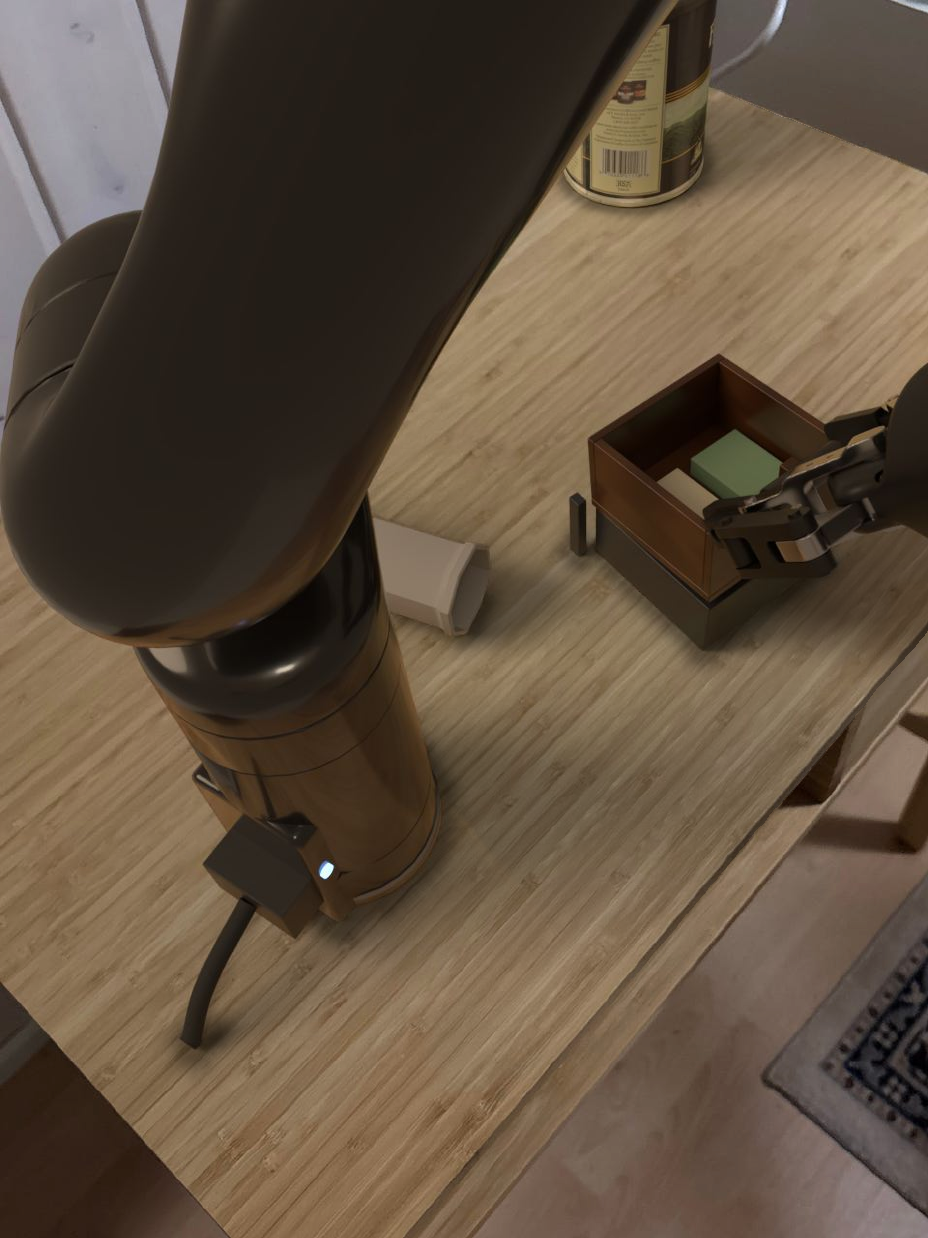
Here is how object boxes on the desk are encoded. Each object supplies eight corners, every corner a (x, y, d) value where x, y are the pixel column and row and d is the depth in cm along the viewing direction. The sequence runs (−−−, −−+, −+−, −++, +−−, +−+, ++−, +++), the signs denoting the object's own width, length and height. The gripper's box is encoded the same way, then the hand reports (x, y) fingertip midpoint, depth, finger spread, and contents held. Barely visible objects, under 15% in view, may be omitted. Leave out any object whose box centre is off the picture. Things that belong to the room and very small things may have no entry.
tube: (48, 494, 66) (440, 623, 58) (87, 412, 67) (478, 528, 59) (97, 526, 71) (464, 649, 63) (132, 449, 72) (498, 561, 64)
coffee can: (675, 108, 87) (689, -89, 75) (724, 189, 81) (747, -11, 69) (544, 138, 86) (538, -57, 75) (583, 222, 81) (583, 26, 69)
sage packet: (794, 487, 60) (796, 471, 59) (749, 519, 59) (751, 503, 58) (733, 444, 62) (735, 428, 61) (690, 474, 61) (690, 458, 60)
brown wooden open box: (865, 529, 58) (888, 424, 52) (735, 625, 56) (744, 527, 50) (714, 421, 64) (720, 317, 58) (591, 504, 62) (584, 403, 56)
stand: (834, 554, 63) (850, 501, 59) (689, 662, 60) (695, 613, 57) (710, 453, 68) (717, 398, 64) (569, 548, 65) (568, 497, 61)
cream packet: (736, 528, 59) (737, 513, 58) (689, 561, 58) (690, 546, 57) (677, 482, 61) (677, 467, 60) (631, 513, 60) (631, 498, 59)
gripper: (1158, 238, 39) (849, 339, 55) (865, 446, 36) (622, 491, 51) (1239, 428, 41) (916, 474, 57) (966, 648, 37) (700, 632, 53)
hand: (776, 482), depth 54 cm, fingers open, 7 cm apart
